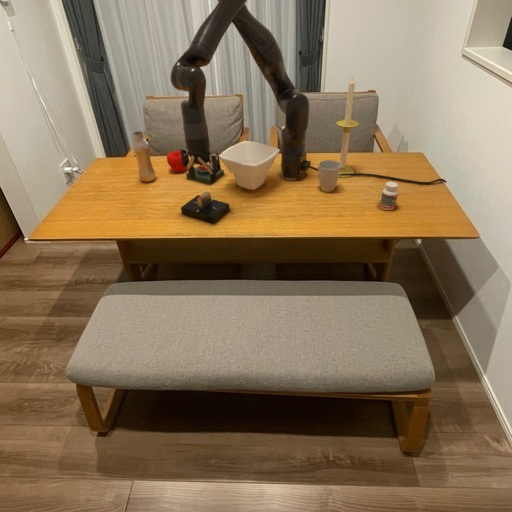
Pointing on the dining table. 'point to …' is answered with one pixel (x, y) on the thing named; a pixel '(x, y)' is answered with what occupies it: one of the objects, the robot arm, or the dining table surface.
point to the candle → (347, 130)
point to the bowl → (249, 162)
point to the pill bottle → (389, 196)
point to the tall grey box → (204, 200)
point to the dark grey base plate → (204, 175)
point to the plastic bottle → (143, 157)
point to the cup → (328, 174)
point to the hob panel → (206, 210)
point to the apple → (175, 161)
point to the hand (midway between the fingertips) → (203, 180)
